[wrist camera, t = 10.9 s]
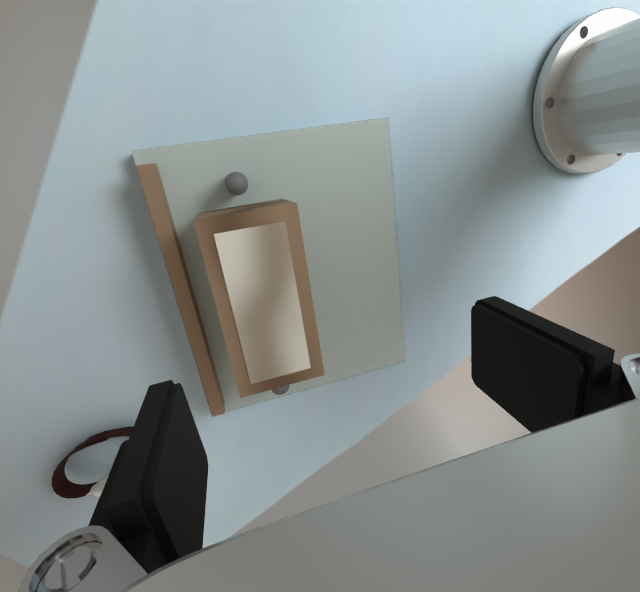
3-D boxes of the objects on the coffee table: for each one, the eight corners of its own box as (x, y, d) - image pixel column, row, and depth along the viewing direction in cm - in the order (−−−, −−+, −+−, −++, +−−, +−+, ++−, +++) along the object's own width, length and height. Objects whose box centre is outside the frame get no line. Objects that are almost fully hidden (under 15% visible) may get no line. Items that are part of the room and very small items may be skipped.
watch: (80, 488, 30) (63, 526, 27) (48, 449, 29) (25, 485, 25) (167, 449, 31) (160, 481, 28) (141, 409, 30) (130, 438, 26)
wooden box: (282, 198, 26) (297, 203, 21) (307, 342, 30) (324, 375, 25) (199, 212, 25) (193, 221, 20) (236, 360, 29) (240, 398, 24)
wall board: (381, 119, 27) (408, 110, 23) (399, 355, 35) (421, 377, 31) (135, 152, 24) (118, 146, 20) (212, 407, 31) (211, 439, 27)
